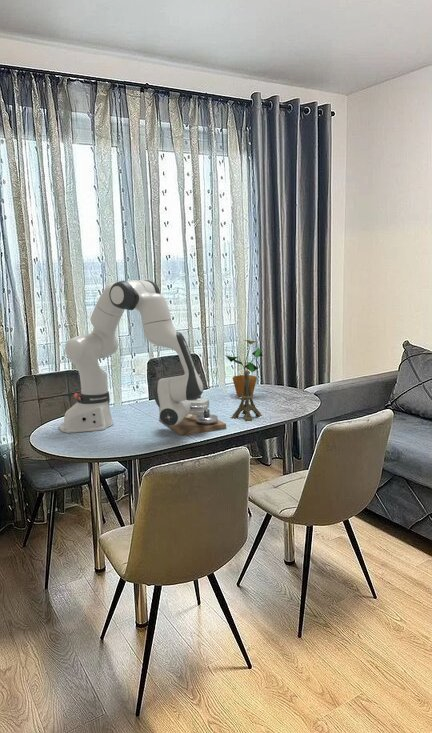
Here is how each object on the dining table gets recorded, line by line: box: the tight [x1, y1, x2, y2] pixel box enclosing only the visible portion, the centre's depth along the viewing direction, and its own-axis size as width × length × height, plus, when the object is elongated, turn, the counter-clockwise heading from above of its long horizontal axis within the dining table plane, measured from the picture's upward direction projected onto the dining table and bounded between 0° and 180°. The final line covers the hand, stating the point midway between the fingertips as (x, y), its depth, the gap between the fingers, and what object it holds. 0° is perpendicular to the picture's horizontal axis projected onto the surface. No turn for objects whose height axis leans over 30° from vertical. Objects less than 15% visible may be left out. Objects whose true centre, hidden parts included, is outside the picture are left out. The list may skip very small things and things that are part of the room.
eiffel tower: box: [230, 367, 263, 422], centre depth 249 cm, size 11×11×25 cm
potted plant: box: [225, 339, 264, 398], centre depth 287 cm, size 18×19×30 cm
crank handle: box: [189, 408, 219, 425], centre depth 238 cm, size 20×9×12 cm, turn 51°
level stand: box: [158, 411, 227, 436], centre depth 240 cm, size 20×25×13 cm
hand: (188, 399), depth 239 cm, fingers closed
